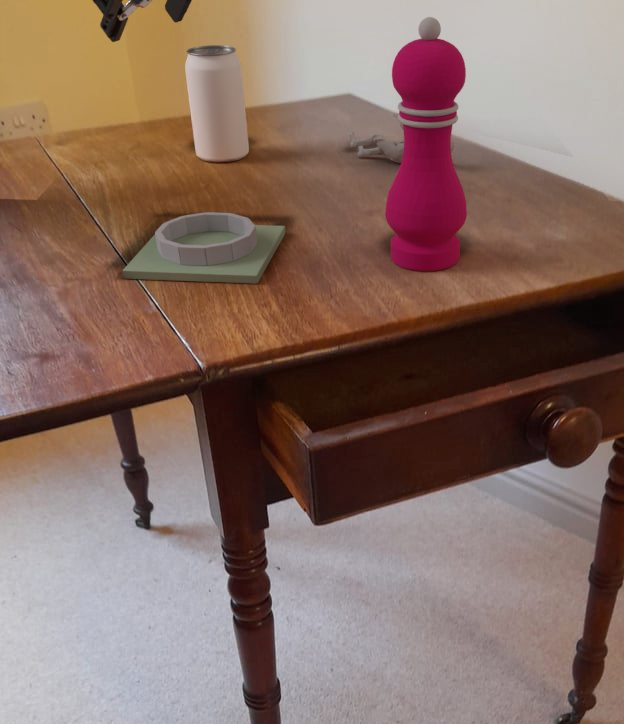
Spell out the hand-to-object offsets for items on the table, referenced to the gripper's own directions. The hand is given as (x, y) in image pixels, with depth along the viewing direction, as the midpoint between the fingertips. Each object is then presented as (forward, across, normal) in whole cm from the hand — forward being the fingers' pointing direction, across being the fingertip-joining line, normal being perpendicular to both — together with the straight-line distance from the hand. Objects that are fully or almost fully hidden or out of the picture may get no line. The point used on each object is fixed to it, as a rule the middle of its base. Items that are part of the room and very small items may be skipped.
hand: (141, 24), depth 94 cm
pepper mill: (-19, +4, +39) cm, 44 cm away
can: (+10, -6, +13) cm, 18 cm away
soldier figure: (-3, -17, +27) cm, 32 cm away
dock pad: (-8, +16, +27) cm, 32 cm away
